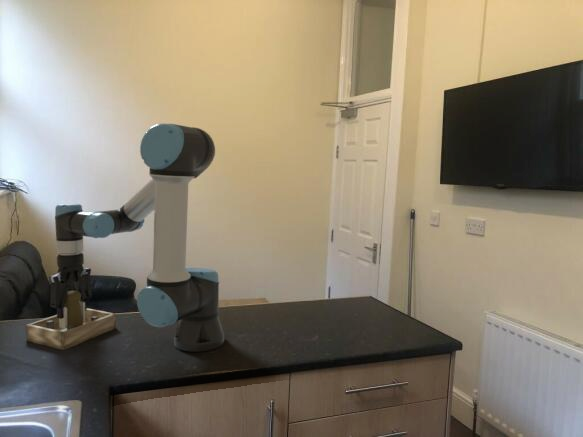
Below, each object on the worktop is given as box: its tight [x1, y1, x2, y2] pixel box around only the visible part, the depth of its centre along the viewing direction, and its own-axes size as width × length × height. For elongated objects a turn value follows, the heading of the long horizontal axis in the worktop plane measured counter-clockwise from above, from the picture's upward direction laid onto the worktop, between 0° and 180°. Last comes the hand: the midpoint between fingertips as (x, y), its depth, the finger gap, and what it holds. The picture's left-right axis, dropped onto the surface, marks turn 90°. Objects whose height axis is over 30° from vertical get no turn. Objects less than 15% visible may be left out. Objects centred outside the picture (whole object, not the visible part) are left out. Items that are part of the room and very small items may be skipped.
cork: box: [65, 290, 83, 327], centre depth 140 cm, size 6×6×11 cm
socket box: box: [25, 307, 117, 351], centre depth 141 cm, size 16×20×5 cm
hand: (72, 324), depth 141 cm, fingers closed on cork, 6 cm apart
